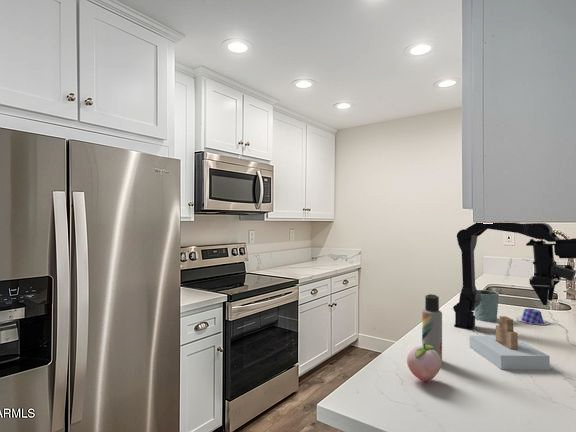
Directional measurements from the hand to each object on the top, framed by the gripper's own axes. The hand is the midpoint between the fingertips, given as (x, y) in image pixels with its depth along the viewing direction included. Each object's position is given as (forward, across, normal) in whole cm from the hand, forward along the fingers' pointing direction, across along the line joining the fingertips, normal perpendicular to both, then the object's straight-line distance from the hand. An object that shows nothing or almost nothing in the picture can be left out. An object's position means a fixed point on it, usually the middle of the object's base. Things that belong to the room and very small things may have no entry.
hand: (547, 302), depth 124 cm
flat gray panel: (+14, -25, +8) cm, 30 cm away
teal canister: (+13, +18, +26) cm, 35 cm away
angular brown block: (+14, -25, +8) cm, 30 cm away
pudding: (+15, +30, +11) cm, 35 cm away
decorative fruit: (+12, -60, +18) cm, 64 cm away
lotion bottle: (+12, -45, +23) cm, 52 cm away
